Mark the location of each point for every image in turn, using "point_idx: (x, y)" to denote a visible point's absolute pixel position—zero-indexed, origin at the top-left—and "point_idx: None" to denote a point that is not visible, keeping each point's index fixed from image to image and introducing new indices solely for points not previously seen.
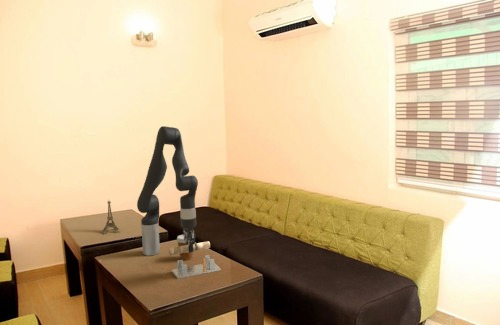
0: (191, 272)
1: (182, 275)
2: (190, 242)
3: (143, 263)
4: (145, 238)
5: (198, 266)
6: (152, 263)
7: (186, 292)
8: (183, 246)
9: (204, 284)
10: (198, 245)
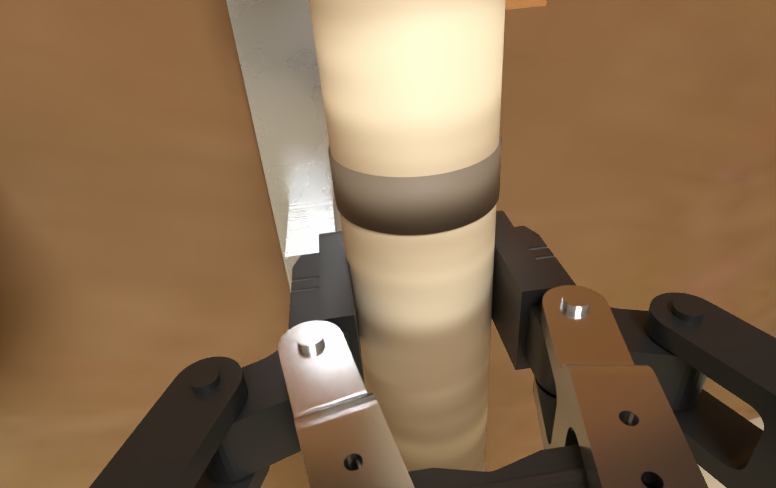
0: None
1: None
2: (738, 427)
3: (17, 459)
4: None
5: (296, 15)
6: (26, 407)
7: (756, 229)
8: (463, 416)
9: (739, 60)
10: (494, 130)
